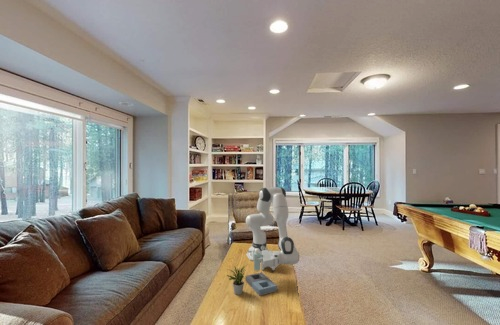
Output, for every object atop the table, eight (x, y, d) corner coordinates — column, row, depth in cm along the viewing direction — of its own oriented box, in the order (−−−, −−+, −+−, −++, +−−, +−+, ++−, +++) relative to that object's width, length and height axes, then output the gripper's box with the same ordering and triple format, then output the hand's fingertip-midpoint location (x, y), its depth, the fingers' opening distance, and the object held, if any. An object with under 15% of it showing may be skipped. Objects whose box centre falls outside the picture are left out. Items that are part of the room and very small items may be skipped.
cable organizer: (274, 272, 182) (274, 257, 182) (260, 271, 185) (260, 256, 185) (276, 264, 196) (277, 250, 196) (264, 263, 199) (264, 249, 199)
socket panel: (245, 280, 169) (245, 275, 169) (261, 277, 175) (261, 272, 175) (259, 295, 150) (259, 289, 150) (277, 291, 156) (277, 285, 156)
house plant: (235, 284, 164) (235, 260, 165) (253, 289, 158) (253, 264, 158) (223, 294, 152) (223, 268, 152) (242, 299, 145) (242, 272, 145)
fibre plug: (254, 267, 169) (254, 248, 170) (259, 267, 169) (259, 248, 170) (254, 270, 165) (254, 250, 166) (260, 270, 165) (260, 250, 166)
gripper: (274, 247, 178) (255, 247, 178) (277, 258, 157) (256, 258, 157) (274, 256, 178) (255, 256, 178) (277, 268, 157) (256, 268, 157)
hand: (255, 257), depth 167 cm, fingers closed on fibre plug, 4 cm apart
